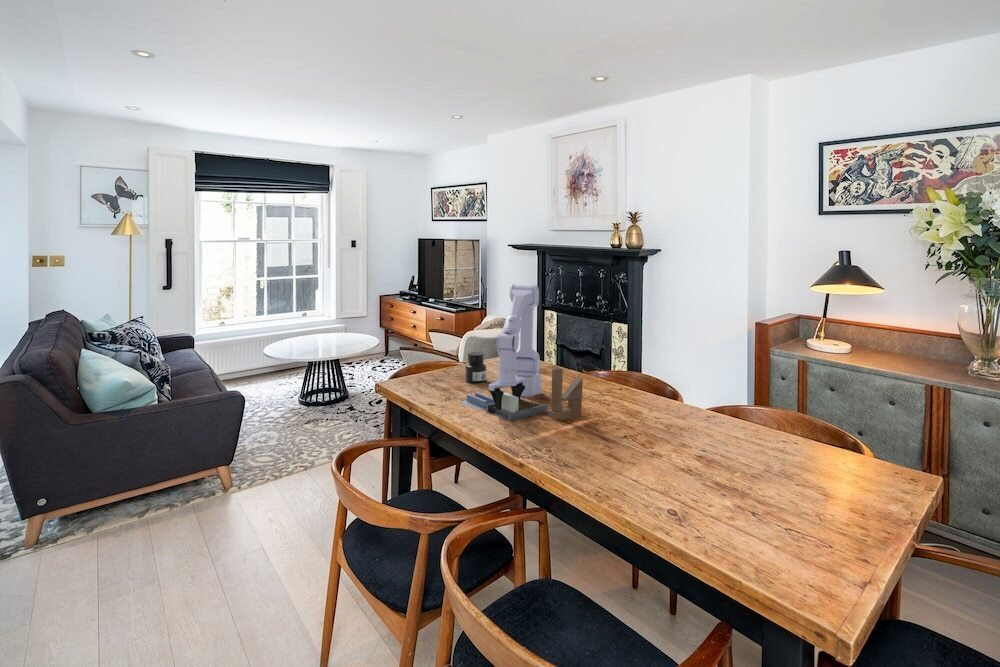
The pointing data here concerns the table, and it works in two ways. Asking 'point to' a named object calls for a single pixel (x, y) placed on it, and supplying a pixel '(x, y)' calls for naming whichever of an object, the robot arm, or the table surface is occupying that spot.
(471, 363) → the ink bottle
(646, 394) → the table surface
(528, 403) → the offcut stack
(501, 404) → the robot arm
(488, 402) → the sheet stand
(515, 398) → the pale green slab
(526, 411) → the slotted rack
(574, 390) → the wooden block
